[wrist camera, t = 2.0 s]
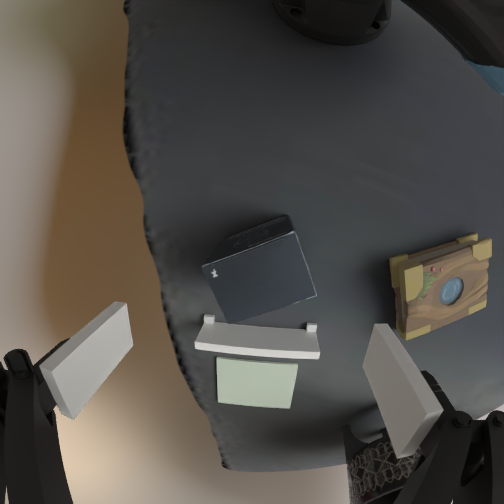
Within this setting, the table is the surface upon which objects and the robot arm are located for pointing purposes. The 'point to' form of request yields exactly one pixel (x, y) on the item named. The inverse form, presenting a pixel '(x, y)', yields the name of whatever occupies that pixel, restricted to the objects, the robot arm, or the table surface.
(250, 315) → the box
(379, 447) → the planter
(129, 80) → the table surface
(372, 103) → the table surface
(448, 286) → the book
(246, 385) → the pad
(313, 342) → the handle
